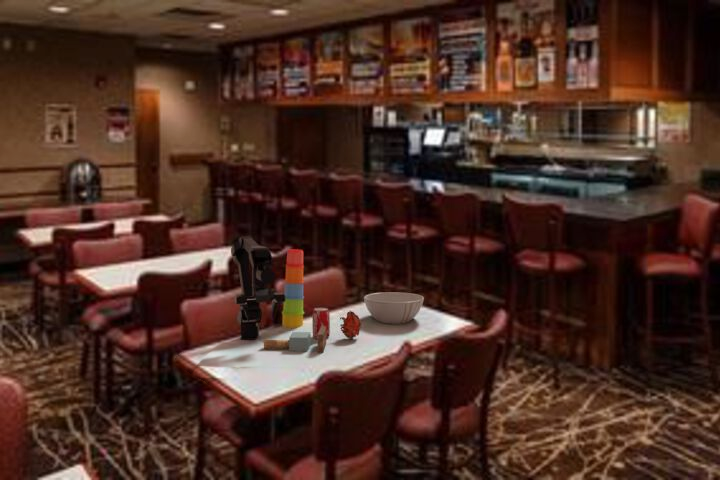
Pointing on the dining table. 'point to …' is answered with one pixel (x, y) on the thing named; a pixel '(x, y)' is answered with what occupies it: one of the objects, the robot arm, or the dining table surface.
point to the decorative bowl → (393, 306)
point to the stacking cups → (293, 290)
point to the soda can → (320, 321)
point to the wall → (321, 339)
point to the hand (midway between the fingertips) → (260, 320)
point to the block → (299, 341)
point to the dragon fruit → (351, 325)
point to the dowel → (276, 344)
